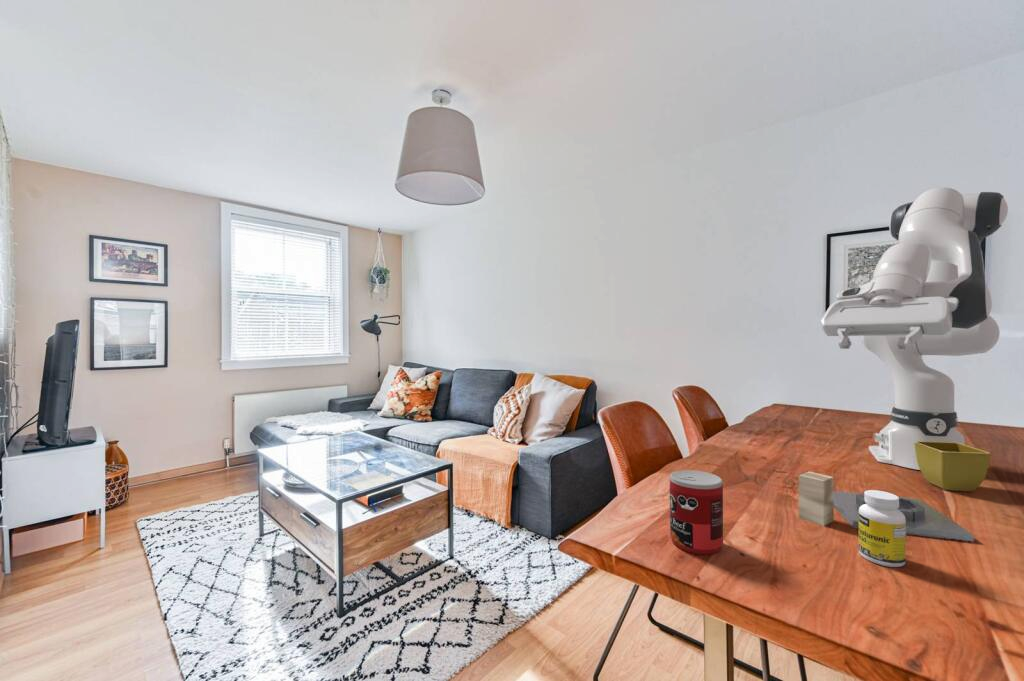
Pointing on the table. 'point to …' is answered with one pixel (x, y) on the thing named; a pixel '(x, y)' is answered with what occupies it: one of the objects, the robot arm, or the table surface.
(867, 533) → the supplement bottle
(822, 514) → the birch block
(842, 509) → the grey square socket board
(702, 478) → the canned food
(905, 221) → the robot arm
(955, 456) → the flower pot
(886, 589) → the table surface
